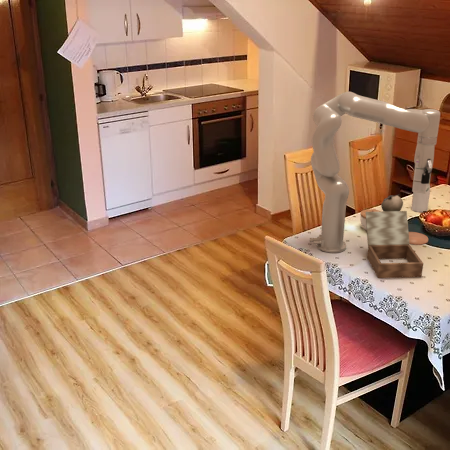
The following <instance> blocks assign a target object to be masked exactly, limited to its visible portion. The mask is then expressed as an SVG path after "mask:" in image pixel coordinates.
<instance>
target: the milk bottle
mask: <svg viewBox="0 0 450 450" xmlns="http://www.w3.org/2000/svg"><path fill="white" fill-rule="evenodd" d="M430 194H431V185H429V190H428V191H427V192H426V194H422V193H416V192H413V193H412V199H411V210H412V211H413V212H417V213H424V212H423V211H426V212H428V209H429V203H430V202H429V200H430Z"/></svg>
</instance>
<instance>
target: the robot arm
mask: <svg viewBox="0 0 450 450" xmlns="http://www.w3.org/2000/svg"><path fill="white" fill-rule="evenodd" d="M343 115H348V116H350V117H353V118H357V119H360V120H366V121H370V122H375V123H378V124H381V125H384V126H389V127H393V128H396V129H400V130H404V131H406V132H407V131H409V132H412V133H417V140H416V147H415V152H414V158H413V159H414V160H413V161H414V164H415V162H416V159H419V164H418V167H419V168H421V169H422V168H423V174H422V179H421V183H422V184H429V180H430V181H431V177H430V175H432V170H433V166H434V160H435V159H434V158H435V147H436V145H437V142H438V141H437V140H438V135H439V134H438V133H439V125H440V120H441V112H440V110H438V109H435V108H433V109H432V108H425V109H415V108H406V109H405V108H401V107H398V106H396V105H394V104H392V103H389V102H388V101H387V102H386V101H383V100H379V99H374V98H371V97H367V96H362V95H359V94H357V93H355V92H352V91H345V92H342V93H341V94H338V95H336V96H334V97H333V98H331V99H329V100H328V101H326V102H323V103H322V104H321V105H319V106H318V107H316V108H315V110H314V111H313V114H312V120H313V123H314V124H315V125H316V127H315V129H314V131H313V133H312V136H311V145H312V150H313V152H312V154H311V157H310V166H311V168H312V171H313V174H314V179H315V181H316V185H317V186H318V188H319V189H320V190H321V191H322V193H324V195H325V196H324V199H323V200H324V201H323V204H322V213H321V214H322V215H321V229H320V230H321V231H320V233H321V234H319V236H317V237H309V242H310V243H313V245H316V247H317V249H318V250H320V251H322V252H325V253H332V254H333V253H334V254H337V253H341V252H344V251H345V250H346V249H347V243H346V242H345V241H344V235H345V224H346V211H347V210H346V208H347V202H348V198H349V195H350V188H349V185H348V183H347V181H346V180H344V178H342V176H340V175H339V172H340V169H341V163H340V160H339V156H338V154H337V151H336V150H337V149H336V147H335V142H334V141H335V140H334V138H335V135H336V133H338V131H339V130H340V128H341V126H342V120H343V119H342V116H343ZM426 164H427V166H428V167H425V166H426ZM425 169H428V170H426V171H425Z"/></svg>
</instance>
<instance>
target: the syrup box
mask: <svg viewBox="0 0 450 450" xmlns="http://www.w3.org/2000/svg"><path fill="white" fill-rule="evenodd" d="M418 164H419V159H416V162H415V163H414V174H413V182H412V188H411V189H412V190H411V192H416V193H422V194H426V192H427V191H428V190H429V185H430V183H431V179H430V180H429V184H422V183H421V179H422V174H423V168H422V169H421V168H419V167H418ZM425 167H428V166H427V164H426V166H425ZM426 170H428V169H425V171H426ZM431 175H432V174H431ZM431 175H430V178H431ZM430 186H431V185H430Z"/></svg>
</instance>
